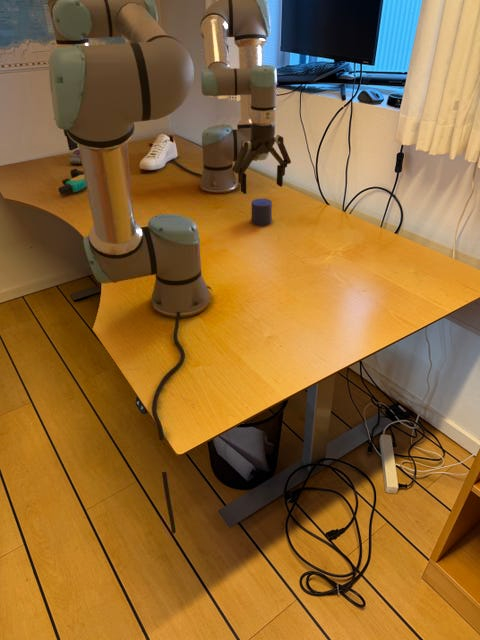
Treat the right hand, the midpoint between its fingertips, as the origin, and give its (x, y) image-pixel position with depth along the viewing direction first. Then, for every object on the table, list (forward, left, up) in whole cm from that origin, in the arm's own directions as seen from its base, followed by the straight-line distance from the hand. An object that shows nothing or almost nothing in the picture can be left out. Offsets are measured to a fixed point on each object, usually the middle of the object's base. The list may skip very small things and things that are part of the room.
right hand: (261, 188), depth 159 cm
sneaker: (-76, -13, -12) cm, 78 cm away
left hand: (+2, -53, +20) cm, 56 cm away
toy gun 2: (-64, -52, -12) cm, 84 cm away
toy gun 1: (-95, -41, -12) cm, 104 cm away
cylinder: (0, 0, -12) cm, 12 cm away
